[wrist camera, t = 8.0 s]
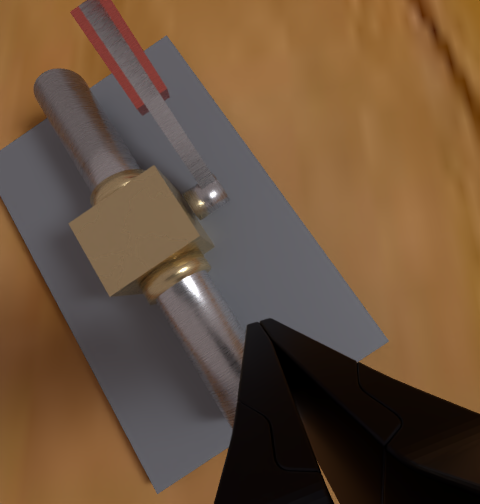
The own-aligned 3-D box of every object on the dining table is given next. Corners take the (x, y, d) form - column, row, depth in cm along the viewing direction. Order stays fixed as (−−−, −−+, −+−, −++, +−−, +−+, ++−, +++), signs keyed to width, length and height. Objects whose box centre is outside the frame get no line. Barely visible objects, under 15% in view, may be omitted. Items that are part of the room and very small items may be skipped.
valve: (301, 376, 18) (313, 411, 13) (226, 426, 18) (211, 478, 13) (113, 90, 22) (70, 36, 17) (53, 132, 22) (-7, 90, 17)
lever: (237, 198, 16) (102, -15, 13) (200, 222, 16) (56, 17, 13) (233, 196, 18) (114, 10, 15) (200, 218, 18) (74, 38, 15)
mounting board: (382, 338, 18) (389, 341, 17) (163, 482, 18) (157, 494, 17) (171, 46, 22) (166, 35, 21) (-5, 167, 23) (-18, 162, 22)
